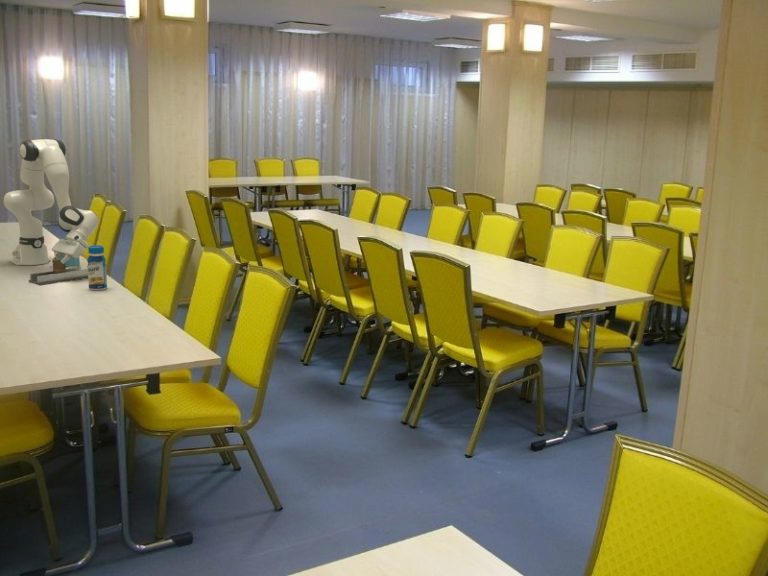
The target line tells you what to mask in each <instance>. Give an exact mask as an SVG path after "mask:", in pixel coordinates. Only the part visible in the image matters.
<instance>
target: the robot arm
mask: <svg viewBox="0 0 768 576" xmlns="http://www.w3.org/2000/svg"><path fill="white" fill-rule="evenodd" d="M66 150H67V149H66V146H65V144H64V142H63V141H62V140H60V139H57V138H56V139H49V138H48V139H47V138H41V139H27V140H24V141H22V142H21V143H20V145H19V155H20V157H21V159H22V160H21V165H20V166H21V167H20V173H19V174H20V180H21V182H22V183H23V184H25V185H27V186H29V189H20V190H18V189H17V190H12V191H9V192H7V193H5V194H4V197H3V205H4V207H5V208H6V210H8V211H9V212H11V213H12V214H13V215H14V216H15V217H16V220H17V222H18V225H19V232H20V233H19V235H20V236H19V238H18V245H17V246H16V247H15V248H14V249H13V251H12V253H11V254H12V258H8V262H10V263H12V264H14V265H15V266H36V265H44V264H47V263H49V262H52V261H51V260H54V259H58V257H59V256H60V255H63V256H66V257H64V258H63V259H61V261H60V262H61V263H62V264H64V263H65V262H66V261H68V260H69V259H70V258H75V259H77V258H79V259H80V257H81V255H82V254H84V252H85V251H86V249H87V248H88V247H89V246H90V245H89V243H88V242H87V241H88V238H89V237H90V236H91V235H93V233H94V232H95V231H96V229H97V227H98V225H99V224H100V218H99V217H98V215H97V214H96V213H95V212H94V211H92V210H90V209H89V210H87V209H86V210H85V209H82V208H81V209H80V208H77V207H76V206H73V205H72V203H71V202H72V201H71V199H70V193H69V185H70V170H69V166H68V162H67V160H66ZM45 176H46V178H47V181H48V183H49V185H50V187H51V189H52V191H53V193H54V194H53V193H52V191H51V190H50V189H48V188H47V187H46V185H45V179H44V177H45ZM55 200H56V204H57V208H58V211H59V215H58V227H59V229H61V231H63V232H65V233H67V234H66V236H65V237H64V238H61V239H59V240H58V241H57V242H56V243H55V244H54V245H53V246H52V248H51V251H52V252H53V253H55V255H54V256H53V257H52V259H51V258H49V254H48V253H49V252H48V247H47V245H45V236H44V232H43V231H44V230H43V228H44V227H43V222H42V221H41V219H39V218H37V217H35V216H33V215H32V211H43V210H46V209H47V210H48V209H50V208H52V207H53V205H54V204H55Z"/></svg>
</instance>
